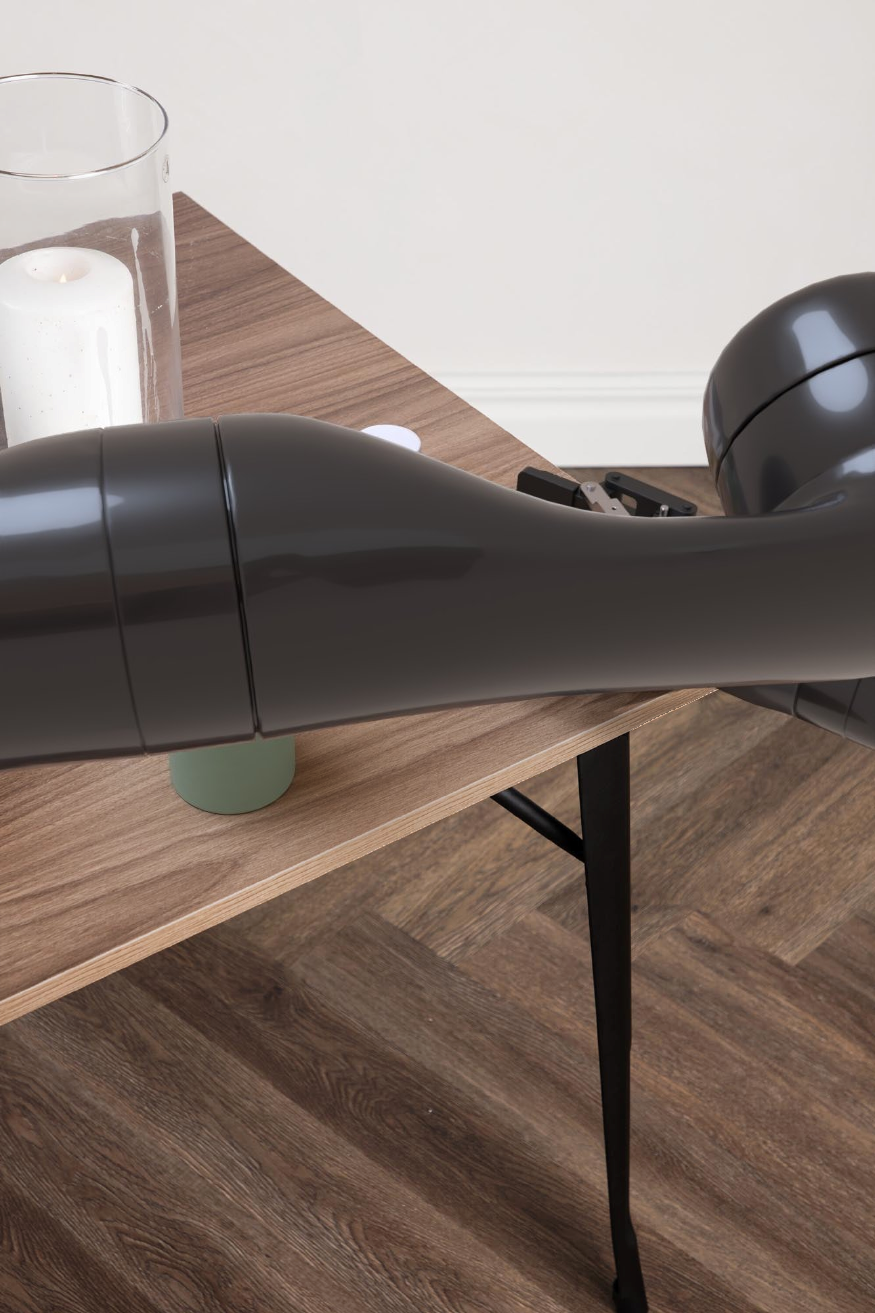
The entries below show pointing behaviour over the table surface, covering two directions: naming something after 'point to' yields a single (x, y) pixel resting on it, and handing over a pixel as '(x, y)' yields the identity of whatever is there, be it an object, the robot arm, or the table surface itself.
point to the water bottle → (234, 775)
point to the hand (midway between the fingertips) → (481, 515)
